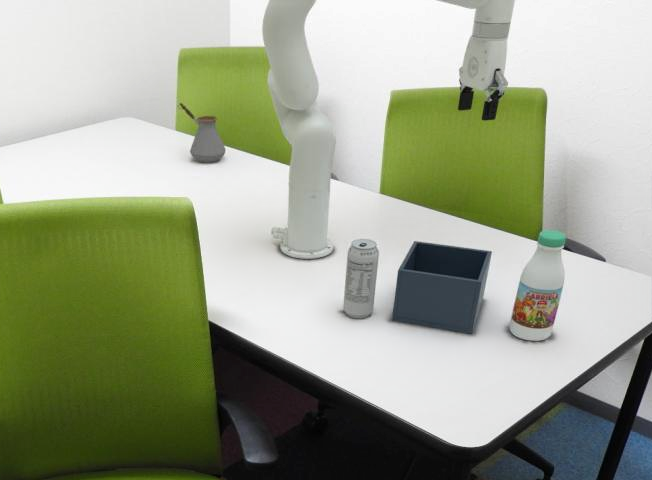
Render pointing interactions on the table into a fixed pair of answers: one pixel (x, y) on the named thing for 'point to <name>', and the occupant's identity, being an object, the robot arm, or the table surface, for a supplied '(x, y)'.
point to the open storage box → (441, 286)
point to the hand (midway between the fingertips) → (476, 114)
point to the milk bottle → (540, 289)
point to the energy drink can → (360, 278)
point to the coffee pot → (206, 139)
